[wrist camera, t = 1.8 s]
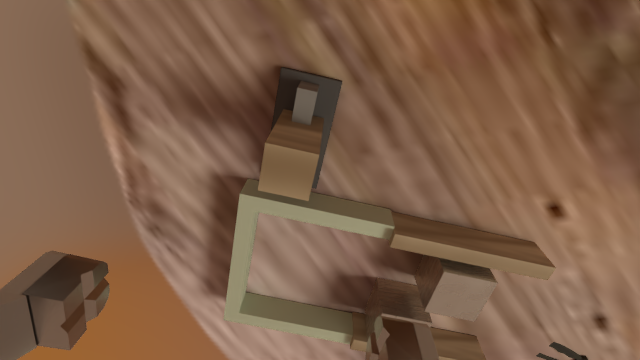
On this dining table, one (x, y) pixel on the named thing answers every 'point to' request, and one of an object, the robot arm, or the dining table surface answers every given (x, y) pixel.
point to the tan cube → (453, 287)
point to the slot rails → (467, 247)
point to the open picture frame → (313, 211)
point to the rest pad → (323, 104)
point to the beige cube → (394, 303)
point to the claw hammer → (564, 350)
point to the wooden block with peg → (293, 148)
